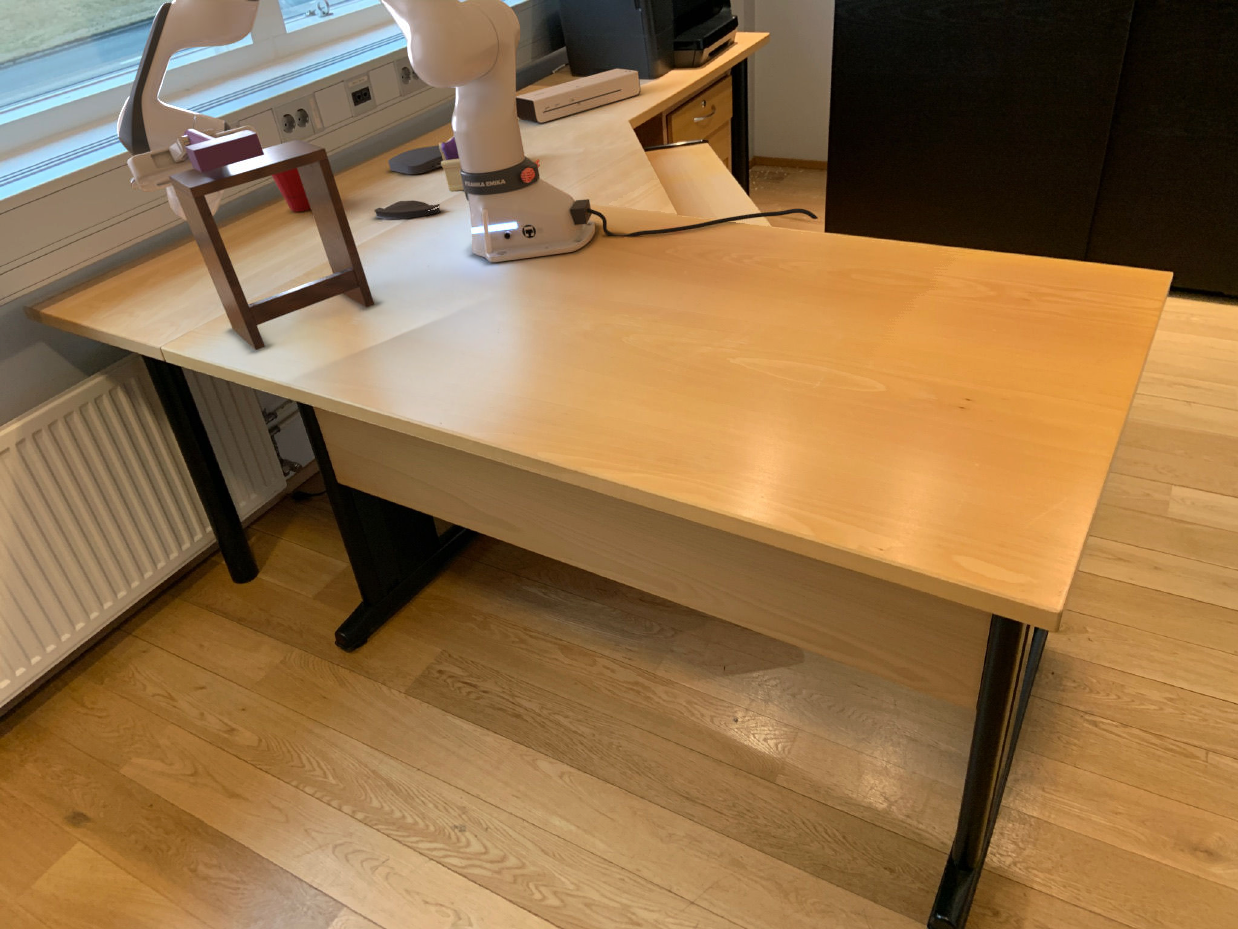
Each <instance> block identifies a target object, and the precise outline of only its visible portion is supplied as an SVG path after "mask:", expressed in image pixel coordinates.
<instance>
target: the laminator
mask: <svg viewBox="0 0 1238 929" xmlns="http://www.w3.org/2000/svg"><path fill="white" fill-rule="evenodd" d="M640 93H641V81H640V73H639V71H638V70H633V69H627V68H626V69H625V68H618V67H617V68H614V69H610V70H606V71H602V72H599V73H596V74H592V75H589V76H584V77H581V78H577V79H573V80H570V81H566V82H563V83H560V84H556V85H552V86H549V87H545V88H540V89H537V90H534V91H530V92H526V93H523V94H520V95H516V108H517V117H518V120H519V119H520V120H526V121H530V122H534V123H537V124H546V123H549V122H553V121H556V120H559V119H563V118H566V117H569V116H570V117H571V116H572V115H576V114H577V115H578V114H580V113H584V112H586V111H589V110H593V109H597V108H599V107H603V106H608V105H609V104H610V105H611V104H615V103H617V102H620V101H624V100H627V99H631V98H634V97H637V96H638V95H640Z"/></svg>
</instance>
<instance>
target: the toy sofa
mask: <svg viewBox="0 0 1238 929" xmlns="http://www.w3.org/2000/svg"><path fill="white" fill-rule="evenodd" d="M438 145H439V149H440V152H441V155H442V158H443V161H441V165H442V169H443V171H444V172H443V173H444V175H445V179H446V183H447V187H448V190H449V192H456V191H464V189H463V185H462V179H461V174H460V170H461V168H462V167H461V163H460V159H459V155H458V150H457V146H456V142H455V138H454V135H452V136H450V138H449V139H448V140H447V141H440V142H439V143H438Z"/></svg>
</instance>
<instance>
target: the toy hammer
mask: <svg viewBox="0 0 1238 929" xmlns="http://www.w3.org/2000/svg"><path fill="white" fill-rule="evenodd" d="M257 134H258V132H257V133H254V132H251V131H248V130H245V131H241V132H238V133H234V134H230V135H227V136H223V137H219V138H214V137H211V136H209V135H206V134H204V133H201V132H199V131H196V130H194V129H188V130H186V131H185V132H184V134H183V136H188V138H189V141H190V143H191V145H190V146H186V147H185V149H186V151H187V154H188V156H189V158H190V161H191V163H192V166H193V168H194V169H196V170H198V171H200V172H206V171H209V170H213V169H216V168H220V167H223V166H227V165H230V164H234V163H237V162H241V161H244V160H248V159H251V158H255V157H258V156H262V155H264V153H263V150H262V149H263V146H262V147H261V144H260V141H259V138H260V137H259V138H258V136H259V135H258V136H257Z"/></svg>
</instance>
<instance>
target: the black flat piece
mask: <svg viewBox="0 0 1238 929" xmlns="http://www.w3.org/2000/svg"><path fill="white" fill-rule="evenodd" d="M438 206H439V208H437V209H435V210H431V209H433V208H435V207H438ZM428 210H430V211H428ZM373 211H374V213H375V215H376V218H377V219H383V220H407V219H414V218H419V217H425V216H429V215H435V214H439V213H441V208H440V203H437V204H434V205H433V204H428V203H426V202H423V201H421V200H420V201H419V200H413V199H412V200H399V201H397V202H394V203H392V204H390V205H388V206H387V207H385V208H384V207H377V208H375V209H374V210H373Z"/></svg>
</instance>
